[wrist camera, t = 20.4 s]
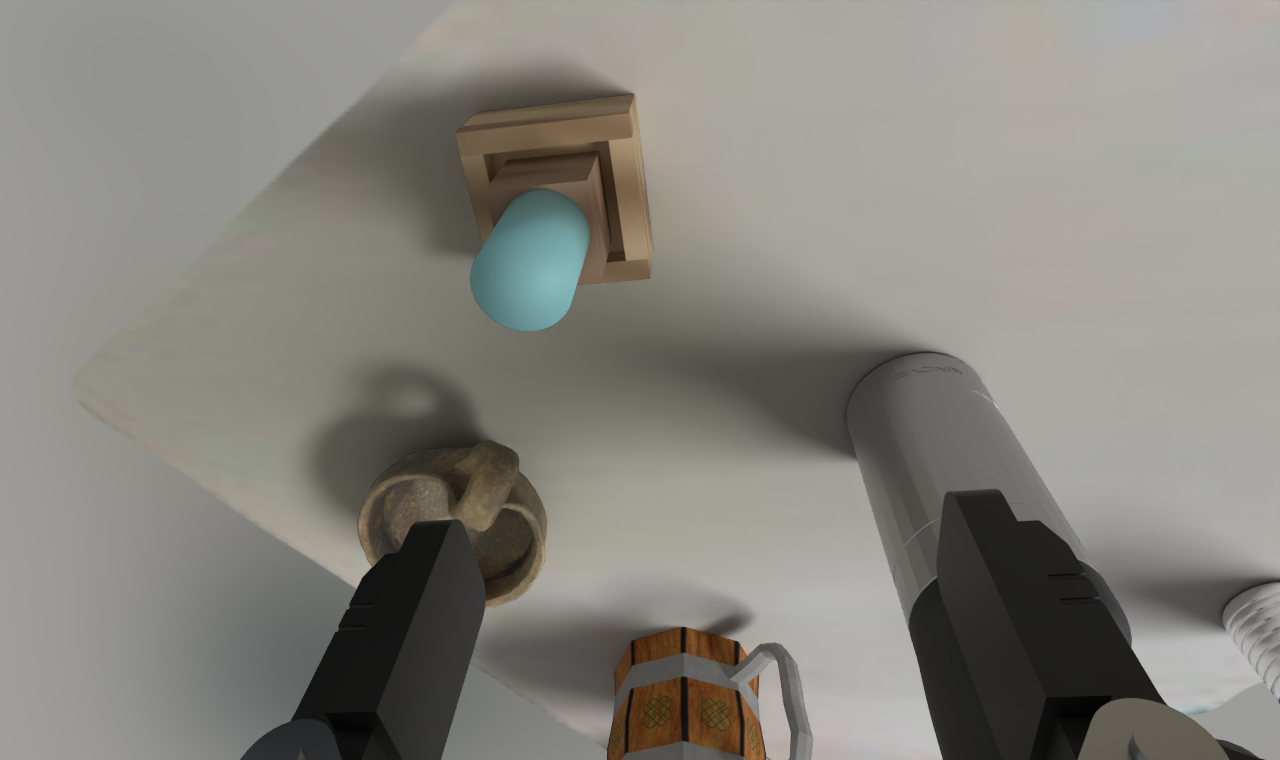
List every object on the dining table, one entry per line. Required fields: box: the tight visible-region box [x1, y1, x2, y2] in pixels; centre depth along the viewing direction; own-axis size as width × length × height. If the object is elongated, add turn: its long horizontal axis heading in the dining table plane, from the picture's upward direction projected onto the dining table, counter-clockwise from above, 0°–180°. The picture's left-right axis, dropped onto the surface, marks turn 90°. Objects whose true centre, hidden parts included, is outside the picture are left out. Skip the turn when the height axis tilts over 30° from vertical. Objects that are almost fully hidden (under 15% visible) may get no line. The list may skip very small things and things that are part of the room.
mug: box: [607, 627, 813, 760], centre depth 60 cm, size 20×14×15 cm
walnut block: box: [485, 151, 612, 279], centre depth 38 cm, size 5×5×5 cm
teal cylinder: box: [470, 189, 590, 331], centre depth 33 cm, size 4×4×6 cm
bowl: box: [357, 440, 547, 609], centre depth 51 cm, size 14×18×10 cm
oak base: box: [454, 94, 653, 285], centre depth 40 cm, size 9×9×4 cm
